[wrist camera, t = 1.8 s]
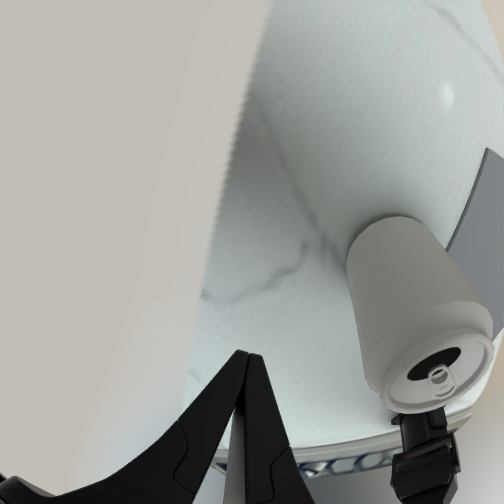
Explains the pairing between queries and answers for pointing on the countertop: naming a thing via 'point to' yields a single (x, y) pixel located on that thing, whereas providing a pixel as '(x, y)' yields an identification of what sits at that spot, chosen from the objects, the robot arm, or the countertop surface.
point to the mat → (484, 238)
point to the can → (415, 317)
